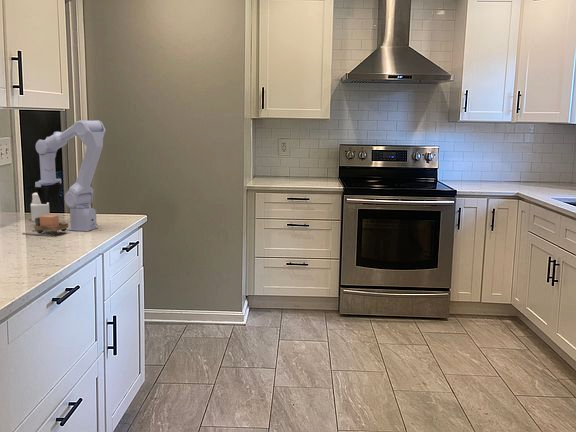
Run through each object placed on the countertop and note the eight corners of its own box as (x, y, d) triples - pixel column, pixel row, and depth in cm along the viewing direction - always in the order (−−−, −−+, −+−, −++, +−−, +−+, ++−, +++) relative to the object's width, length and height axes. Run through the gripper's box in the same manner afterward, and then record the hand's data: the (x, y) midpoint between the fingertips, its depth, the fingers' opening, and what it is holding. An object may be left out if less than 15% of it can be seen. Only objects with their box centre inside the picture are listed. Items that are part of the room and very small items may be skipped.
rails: (63, 232, 222) (63, 231, 222) (52, 236, 215) (52, 235, 215) (33, 230, 225) (33, 229, 225) (22, 234, 218) (21, 233, 218)
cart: (68, 231, 222) (67, 216, 221) (56, 235, 214) (55, 219, 213) (47, 229, 224) (47, 215, 223) (34, 233, 216) (33, 218, 215)
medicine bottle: (32, 218, 251) (30, 191, 249) (49, 218, 254) (48, 191, 252) (31, 221, 245) (29, 193, 243) (49, 220, 247) (47, 193, 245)
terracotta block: (47, 226, 221) (59, 226, 220) (40, 228, 217) (52, 228, 216) (46, 214, 220) (58, 215, 219) (39, 216, 216) (51, 217, 215)
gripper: (50, 167, 241) (51, 199, 243) (27, 170, 227) (29, 204, 229) (65, 168, 240) (66, 200, 242) (43, 171, 226) (45, 205, 228)
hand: (49, 202), depth 235 cm, fingers open, 7 cm apart
